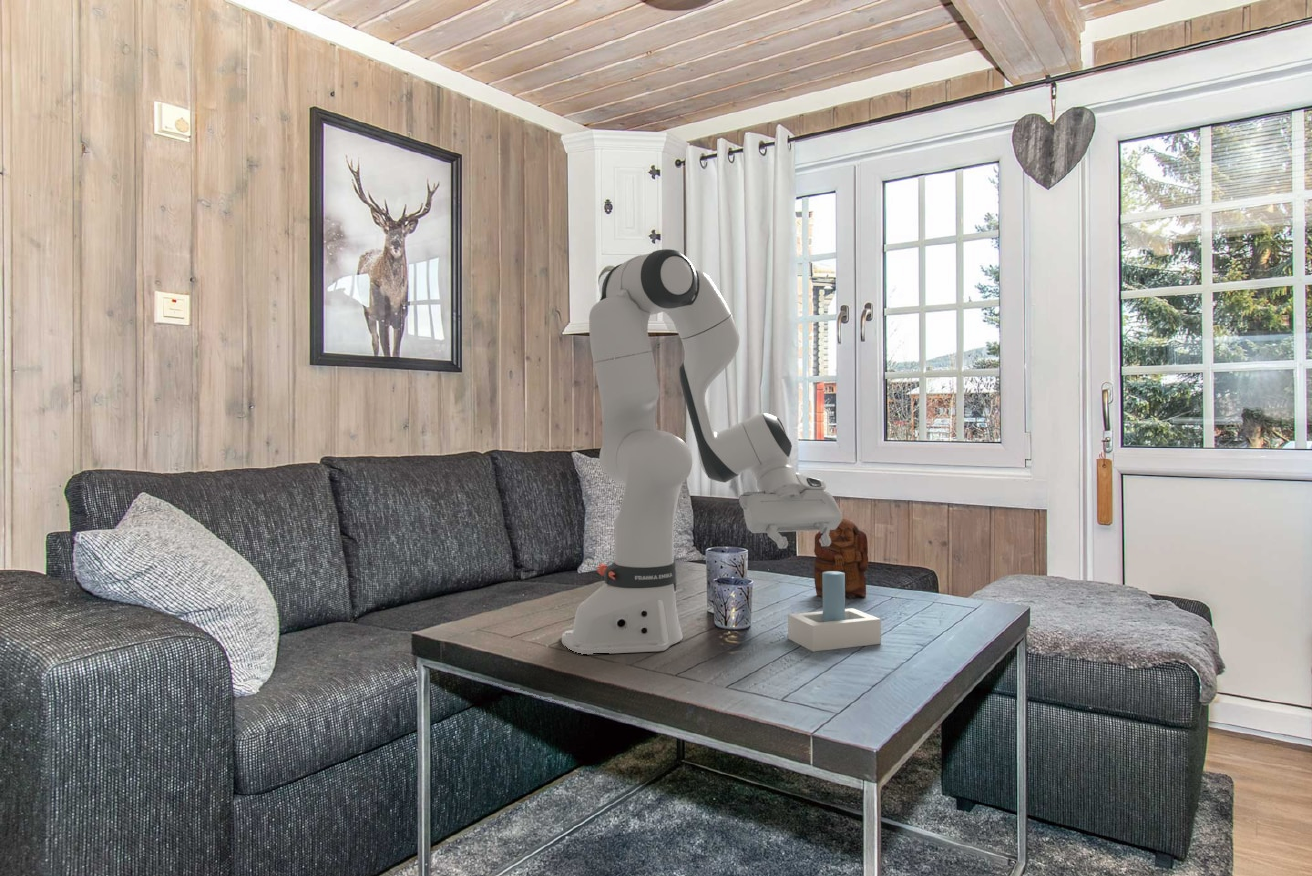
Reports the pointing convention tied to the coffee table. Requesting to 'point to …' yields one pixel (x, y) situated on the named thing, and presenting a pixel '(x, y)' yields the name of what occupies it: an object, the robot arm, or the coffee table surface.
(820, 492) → the robot arm
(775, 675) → the coffee table surface
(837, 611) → the blue pin
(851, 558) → the wooden figurine
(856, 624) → the slot block
